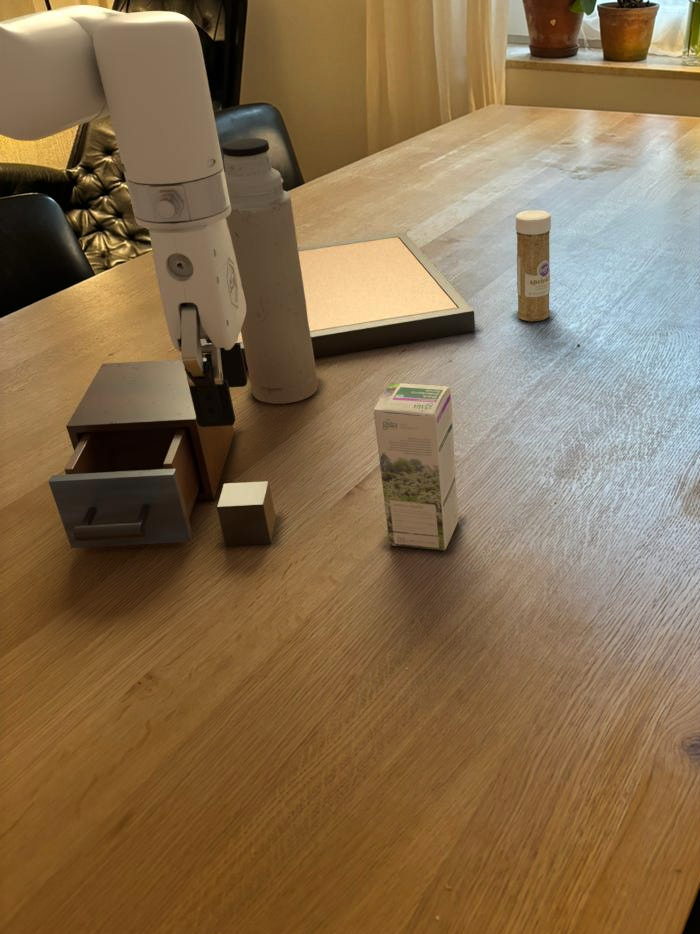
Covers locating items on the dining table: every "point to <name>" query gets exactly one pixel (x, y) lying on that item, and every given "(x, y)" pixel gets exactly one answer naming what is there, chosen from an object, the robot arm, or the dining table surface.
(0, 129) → the robot arm
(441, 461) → the syrup box
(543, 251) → the sprinkles bottle
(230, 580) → the dining table surface
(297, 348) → the thermos bottle
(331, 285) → the cork board
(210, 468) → the cabinet
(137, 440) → the drawer
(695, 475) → the dining table surface
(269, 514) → the block
